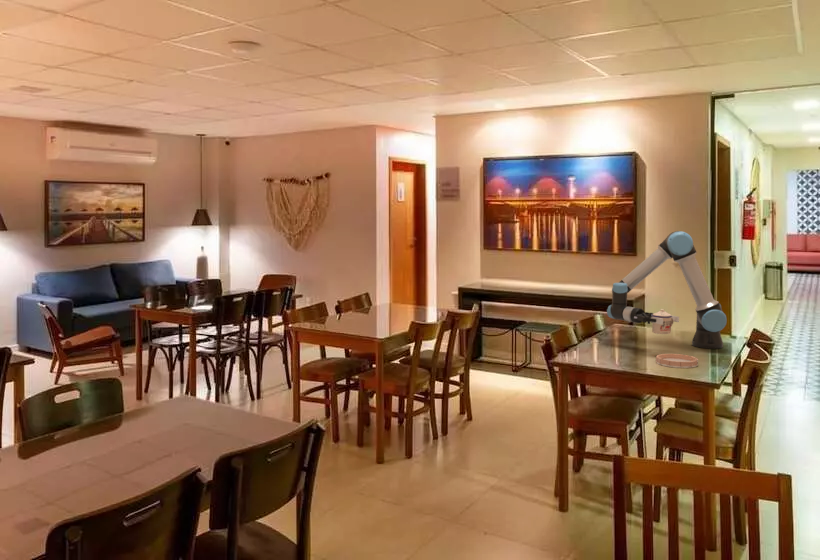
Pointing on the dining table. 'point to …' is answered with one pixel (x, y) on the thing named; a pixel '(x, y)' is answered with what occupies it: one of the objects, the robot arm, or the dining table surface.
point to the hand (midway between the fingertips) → (670, 320)
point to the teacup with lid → (667, 322)
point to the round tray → (677, 360)
